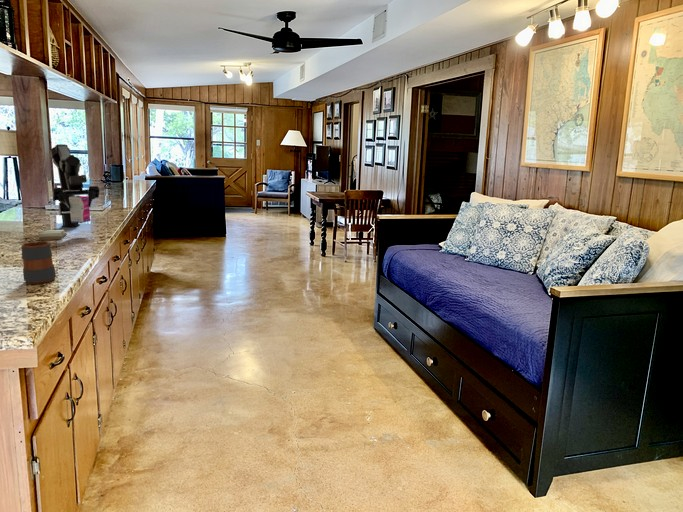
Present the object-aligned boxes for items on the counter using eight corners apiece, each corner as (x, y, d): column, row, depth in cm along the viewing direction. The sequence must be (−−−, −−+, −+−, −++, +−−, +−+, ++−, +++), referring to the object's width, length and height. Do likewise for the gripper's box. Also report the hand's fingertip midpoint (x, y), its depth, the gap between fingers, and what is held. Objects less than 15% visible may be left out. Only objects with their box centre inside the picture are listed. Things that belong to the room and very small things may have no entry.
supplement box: (82, 223, 232) (79, 197, 229) (70, 222, 233) (67, 197, 230) (91, 221, 237) (88, 195, 235) (79, 220, 238) (76, 195, 236)
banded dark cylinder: (58, 273, 170) (53, 238, 168) (55, 282, 160) (50, 245, 157) (27, 276, 167) (22, 240, 164) (22, 286, 156) (17, 247, 154)
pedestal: (44, 236, 235) (43, 230, 234) (66, 235, 237) (66, 229, 237) (39, 240, 226) (38, 233, 226) (62, 239, 229) (61, 232, 228)
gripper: (50, 169, 228) (56, 197, 221) (96, 168, 238) (103, 194, 232) (50, 186, 236) (56, 213, 229) (94, 184, 246) (102, 210, 240)
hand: (80, 207), depth 232 cm, fingers closed on supplement box, 8 cm apart
